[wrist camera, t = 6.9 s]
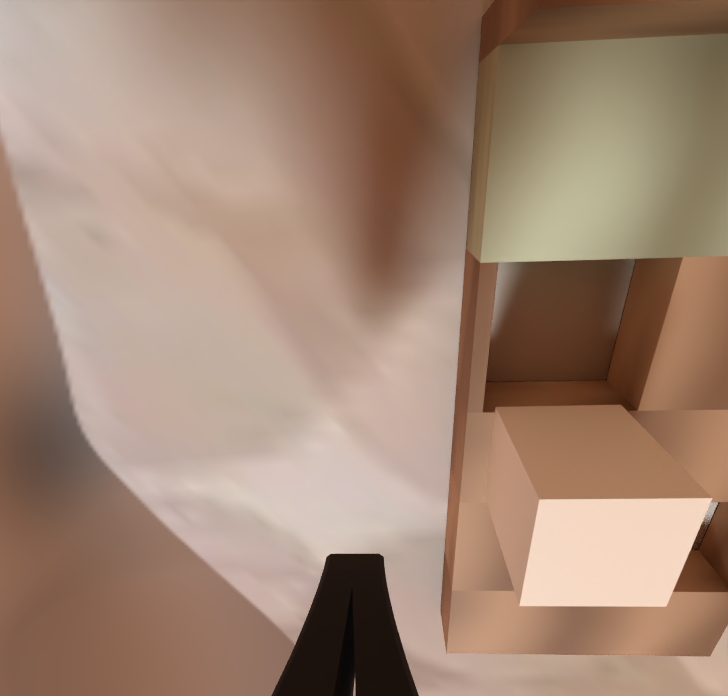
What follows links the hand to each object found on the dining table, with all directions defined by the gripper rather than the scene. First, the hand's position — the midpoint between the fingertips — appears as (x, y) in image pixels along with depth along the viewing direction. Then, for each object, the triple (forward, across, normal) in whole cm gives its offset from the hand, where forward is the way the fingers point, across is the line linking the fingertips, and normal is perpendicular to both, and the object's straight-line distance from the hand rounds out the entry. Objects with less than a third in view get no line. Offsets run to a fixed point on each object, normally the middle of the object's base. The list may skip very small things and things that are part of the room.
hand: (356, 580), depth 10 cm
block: (+4, -6, 0) cm, 8 cm away
